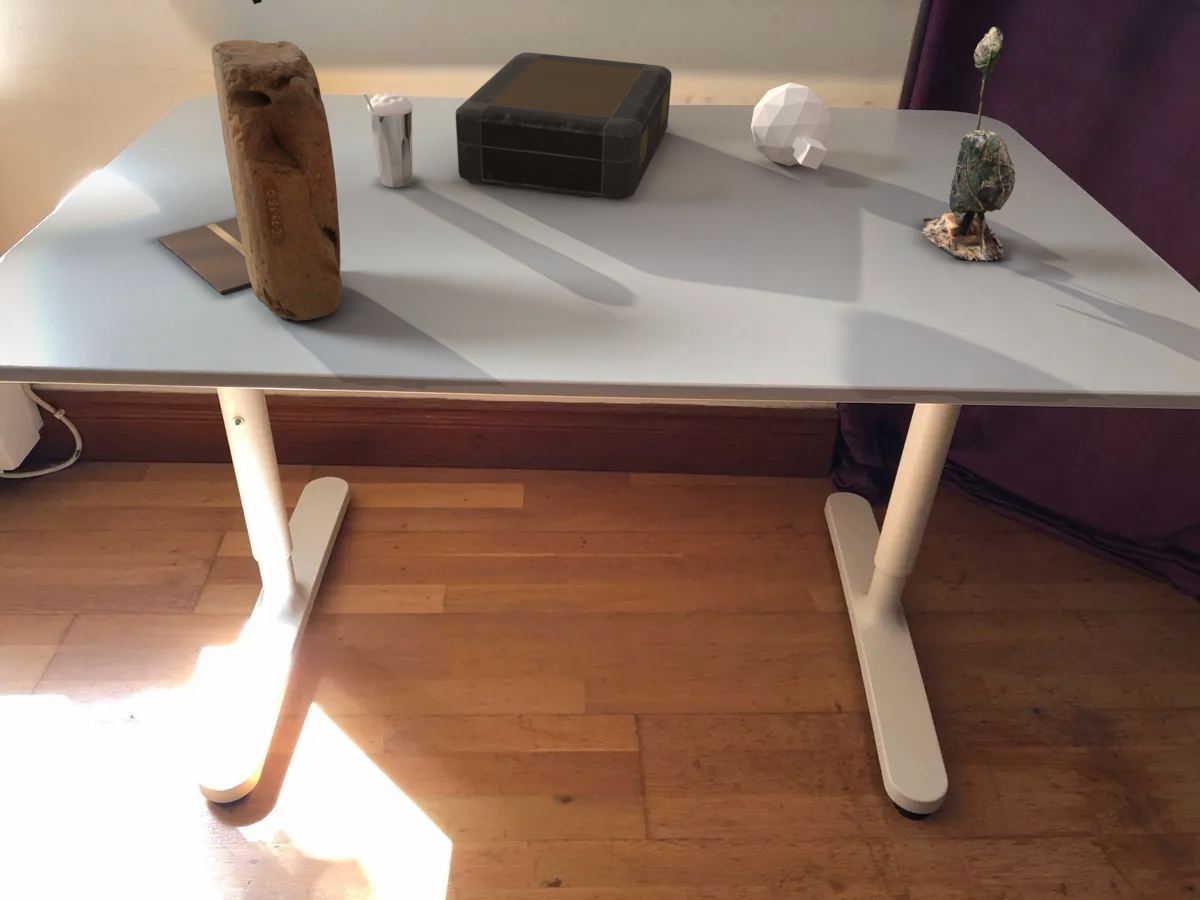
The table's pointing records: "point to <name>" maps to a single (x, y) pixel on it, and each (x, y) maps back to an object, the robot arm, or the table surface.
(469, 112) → the cash box
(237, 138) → the block
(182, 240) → the brown rectangular board
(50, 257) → the table surface
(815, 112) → the perfume bottle
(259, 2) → the robot arm
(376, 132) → the milkshake
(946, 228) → the plant with pod
